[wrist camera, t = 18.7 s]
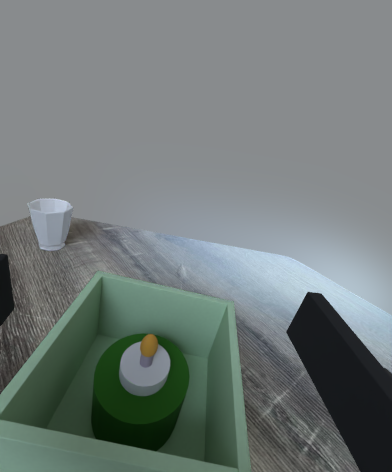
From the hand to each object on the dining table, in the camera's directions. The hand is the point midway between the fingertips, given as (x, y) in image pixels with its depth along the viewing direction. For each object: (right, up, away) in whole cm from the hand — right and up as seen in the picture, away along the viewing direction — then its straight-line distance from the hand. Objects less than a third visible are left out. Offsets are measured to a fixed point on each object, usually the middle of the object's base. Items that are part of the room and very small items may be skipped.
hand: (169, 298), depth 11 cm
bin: (-5, -15, +13) cm, 20 cm away
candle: (-5, -14, +13) cm, 20 cm away
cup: (-26, +2, +36) cm, 45 cm away
